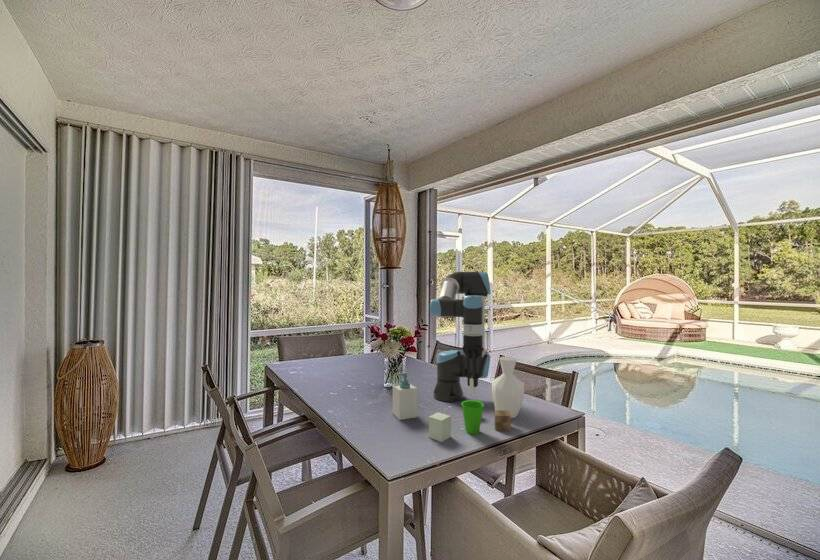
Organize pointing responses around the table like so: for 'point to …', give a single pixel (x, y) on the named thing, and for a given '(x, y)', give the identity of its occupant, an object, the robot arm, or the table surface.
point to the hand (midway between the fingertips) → (472, 394)
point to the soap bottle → (405, 399)
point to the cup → (472, 415)
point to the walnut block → (502, 420)
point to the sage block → (439, 426)
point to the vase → (508, 388)
